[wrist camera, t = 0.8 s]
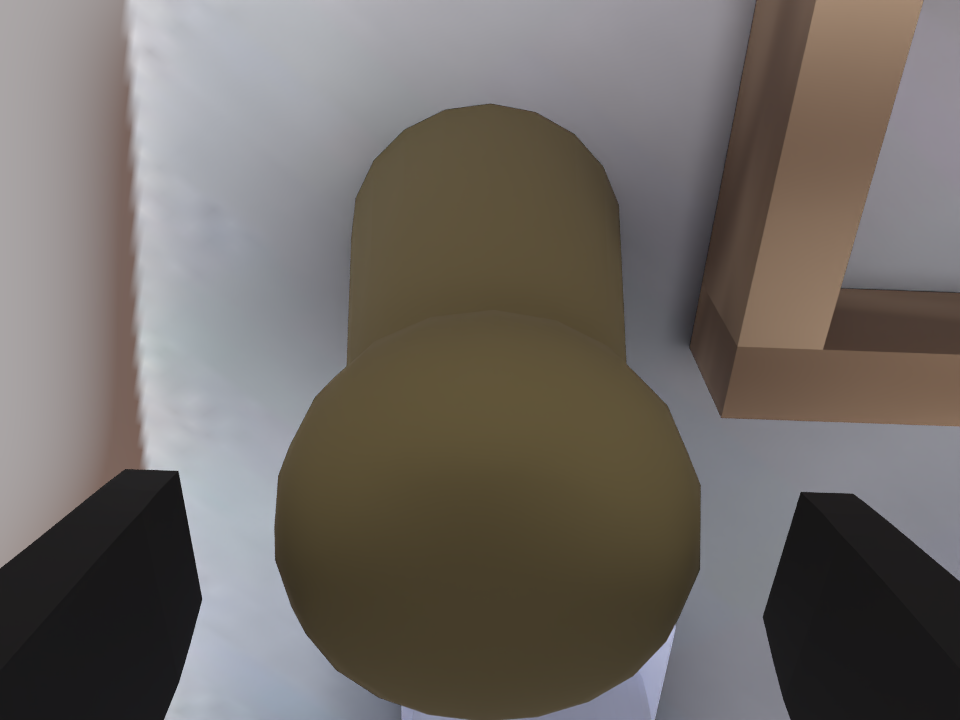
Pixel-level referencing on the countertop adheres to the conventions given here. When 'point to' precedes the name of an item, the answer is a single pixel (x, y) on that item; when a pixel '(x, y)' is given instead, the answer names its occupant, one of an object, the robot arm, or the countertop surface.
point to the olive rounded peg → (487, 438)
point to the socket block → (817, 233)
